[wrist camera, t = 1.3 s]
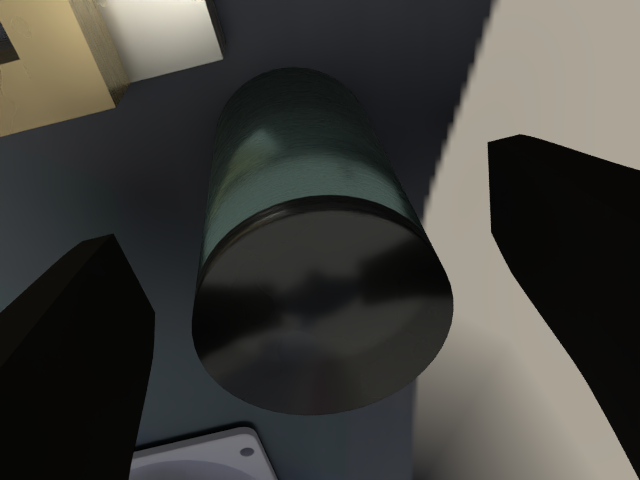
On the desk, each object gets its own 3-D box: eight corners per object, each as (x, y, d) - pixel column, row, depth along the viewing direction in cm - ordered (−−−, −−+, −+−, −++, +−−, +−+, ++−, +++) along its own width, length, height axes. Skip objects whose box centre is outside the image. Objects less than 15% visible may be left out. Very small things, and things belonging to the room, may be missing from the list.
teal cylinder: (379, 192, 15) (461, 384, 9) (241, 226, 15) (237, 436, 9) (354, 49, 13) (441, 185, 7) (193, 90, 13) (148, 257, 7)
